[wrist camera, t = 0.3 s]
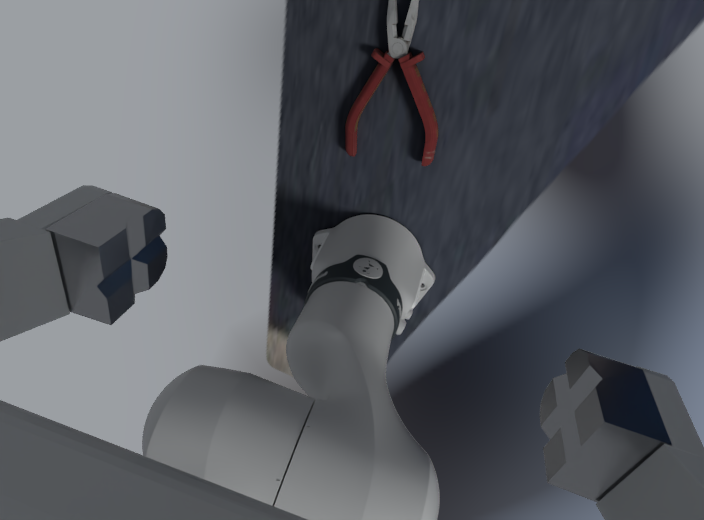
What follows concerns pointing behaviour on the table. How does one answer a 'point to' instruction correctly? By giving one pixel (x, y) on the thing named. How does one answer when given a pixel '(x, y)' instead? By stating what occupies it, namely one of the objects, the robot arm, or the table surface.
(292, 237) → the table surface
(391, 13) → the pliers
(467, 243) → the table surface
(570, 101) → the table surface
